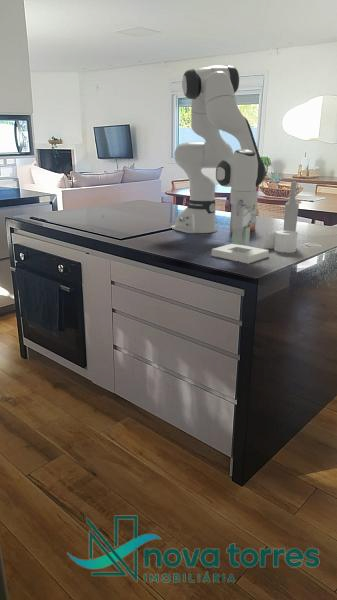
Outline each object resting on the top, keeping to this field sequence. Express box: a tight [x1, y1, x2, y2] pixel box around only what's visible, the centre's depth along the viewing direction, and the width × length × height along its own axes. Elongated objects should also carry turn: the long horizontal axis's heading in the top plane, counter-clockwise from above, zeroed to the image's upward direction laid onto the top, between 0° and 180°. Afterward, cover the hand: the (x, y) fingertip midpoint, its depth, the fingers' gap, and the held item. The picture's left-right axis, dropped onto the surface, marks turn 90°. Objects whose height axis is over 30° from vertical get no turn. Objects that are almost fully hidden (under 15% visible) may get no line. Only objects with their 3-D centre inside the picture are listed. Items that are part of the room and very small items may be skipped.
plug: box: [231, 227, 251, 246], centre depth 160 cm, size 5×4×6 cm
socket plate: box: [211, 243, 270, 264], centre depth 163 cm, size 16×13×2 cm
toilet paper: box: [262, 229, 299, 254], centre depth 171 cm, size 8×11×7 cm
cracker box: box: [229, 185, 260, 233], centre depth 204 cm, size 14×6×21 cm, turn 140°
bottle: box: [282, 181, 300, 232], centre depth 175 cm, size 5×5×25 cm
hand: (240, 237), depth 161 cm, fingers closed on plug, 4 cm apart
